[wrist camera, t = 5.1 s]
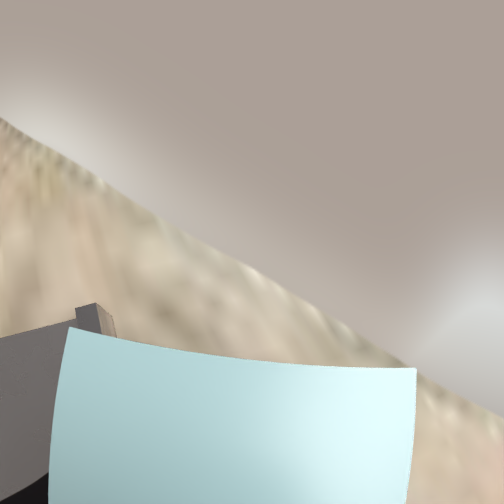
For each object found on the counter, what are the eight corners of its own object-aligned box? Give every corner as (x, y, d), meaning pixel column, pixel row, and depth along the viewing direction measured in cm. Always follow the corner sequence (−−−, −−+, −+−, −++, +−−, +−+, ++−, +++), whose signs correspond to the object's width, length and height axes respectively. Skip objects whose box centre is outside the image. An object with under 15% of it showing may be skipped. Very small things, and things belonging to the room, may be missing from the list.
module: (267, 499, 13) (371, 651, 1) (165, 488, 13) (65, 631, 1) (279, 395, 16) (431, 367, 4) (177, 383, 15) (69, 326, 4)
